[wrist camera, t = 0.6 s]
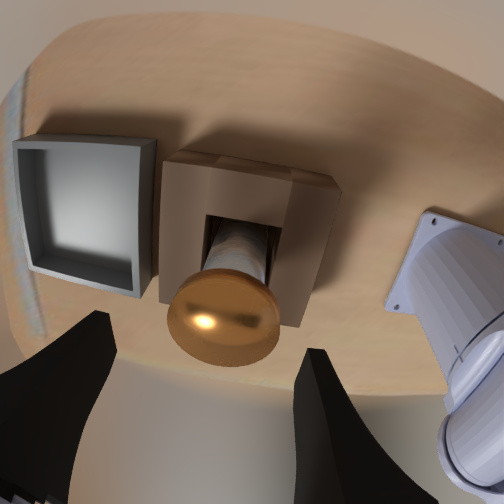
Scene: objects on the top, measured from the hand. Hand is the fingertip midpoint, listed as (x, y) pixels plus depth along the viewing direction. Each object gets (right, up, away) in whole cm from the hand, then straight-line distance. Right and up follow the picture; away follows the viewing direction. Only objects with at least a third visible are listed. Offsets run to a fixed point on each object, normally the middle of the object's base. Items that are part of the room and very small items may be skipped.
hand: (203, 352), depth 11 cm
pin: (+1, +5, +9) cm, 10 cm away
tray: (-10, +7, +9) cm, 15 cm away
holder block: (+1, +5, +9) cm, 10 cm away
